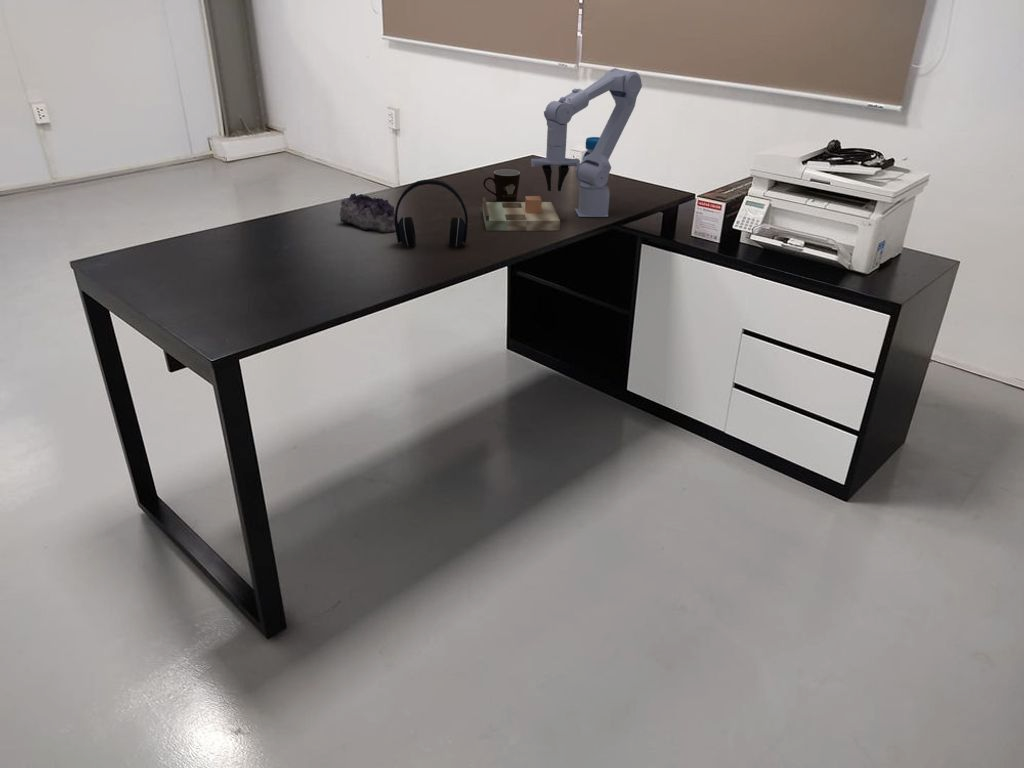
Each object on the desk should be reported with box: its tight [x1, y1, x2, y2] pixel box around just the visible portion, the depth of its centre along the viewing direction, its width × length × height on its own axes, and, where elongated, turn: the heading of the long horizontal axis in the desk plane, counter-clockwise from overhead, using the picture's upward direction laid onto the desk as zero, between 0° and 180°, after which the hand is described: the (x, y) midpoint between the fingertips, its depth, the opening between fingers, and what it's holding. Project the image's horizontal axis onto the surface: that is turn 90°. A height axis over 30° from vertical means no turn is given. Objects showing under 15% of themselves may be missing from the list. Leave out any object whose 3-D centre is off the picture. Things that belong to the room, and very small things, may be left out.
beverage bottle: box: [581, 136, 606, 186], centre depth 257 cm, size 8×8×20 cm
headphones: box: [394, 178, 469, 248], centre depth 211 cm, size 20×7×18 cm, turn 93°
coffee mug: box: [482, 168, 521, 202], centre depth 253 cm, size 12×9×10 cm
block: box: [524, 195, 543, 213], centre depth 236 cm, size 4×4×4 cm
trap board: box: [482, 197, 561, 232], centre depth 237 cm, size 22×20×4 cm
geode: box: [339, 193, 396, 235], centre depth 228 cm, size 20×12×10 cm, turn 54°
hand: (554, 190), depth 235 cm, fingers open, 2 cm apart
